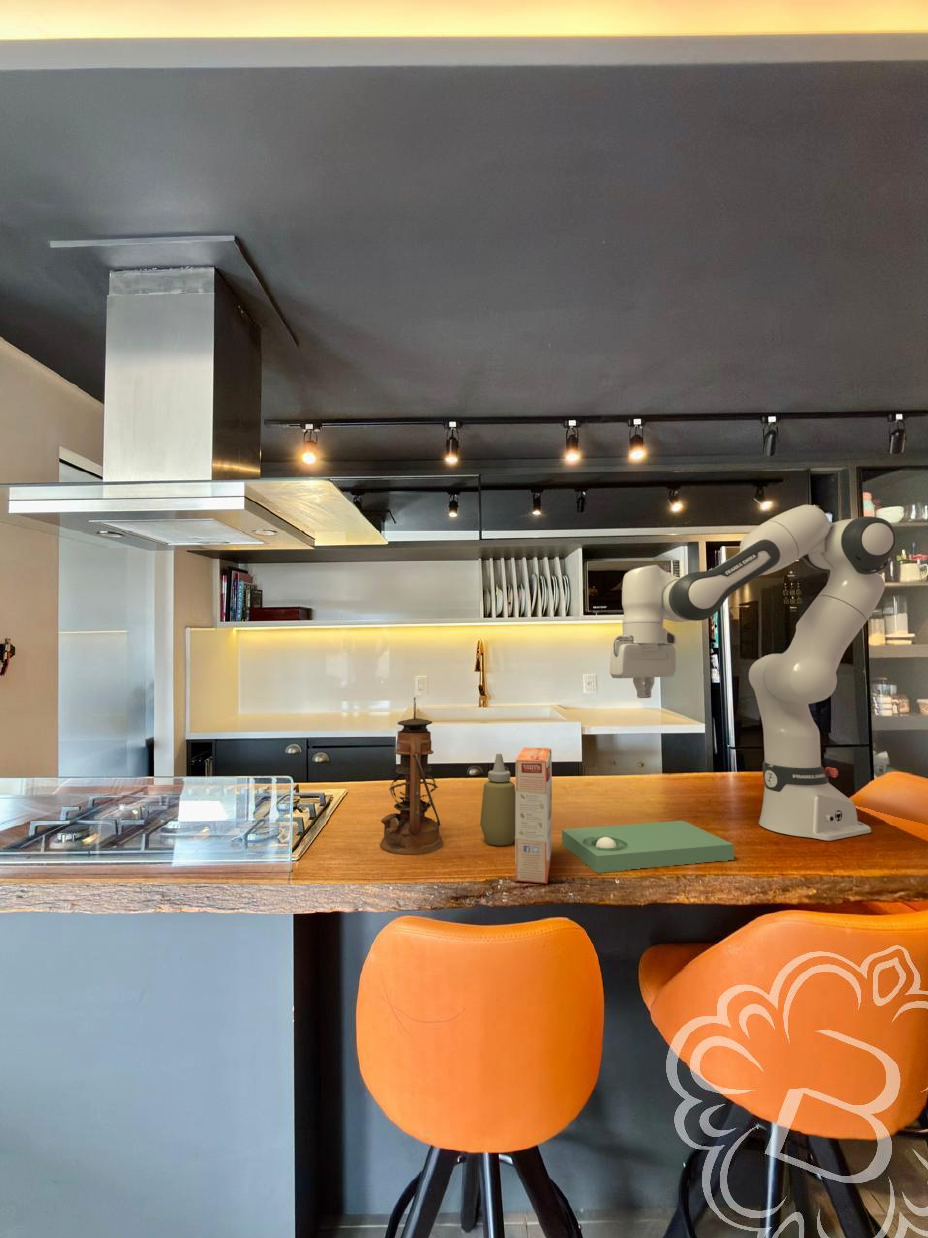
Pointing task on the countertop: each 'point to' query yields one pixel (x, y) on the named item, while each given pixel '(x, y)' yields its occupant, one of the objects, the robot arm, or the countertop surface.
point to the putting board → (646, 846)
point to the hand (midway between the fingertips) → (644, 698)
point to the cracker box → (533, 815)
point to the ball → (606, 843)
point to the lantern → (412, 794)
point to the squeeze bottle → (498, 806)
